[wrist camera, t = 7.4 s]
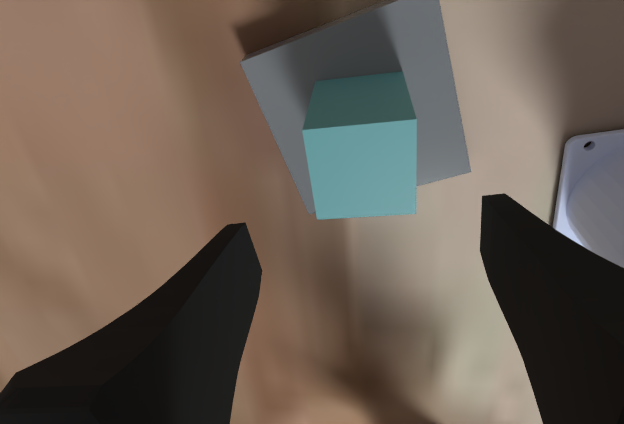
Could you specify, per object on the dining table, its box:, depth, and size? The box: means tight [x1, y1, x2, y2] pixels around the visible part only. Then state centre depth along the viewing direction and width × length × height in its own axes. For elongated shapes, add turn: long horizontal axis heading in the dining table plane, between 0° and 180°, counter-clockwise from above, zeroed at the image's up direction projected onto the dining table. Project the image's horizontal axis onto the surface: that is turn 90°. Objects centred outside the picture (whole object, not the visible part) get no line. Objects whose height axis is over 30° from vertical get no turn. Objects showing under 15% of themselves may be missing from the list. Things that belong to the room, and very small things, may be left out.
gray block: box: [240, 0, 471, 214], centre depth 21 cm, size 9×9×2 cm
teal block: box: [302, 71, 417, 220], centre depth 18 cm, size 4×4×6 cm
